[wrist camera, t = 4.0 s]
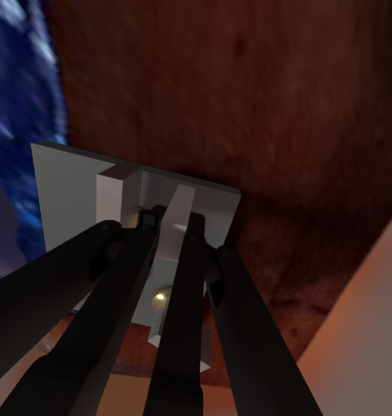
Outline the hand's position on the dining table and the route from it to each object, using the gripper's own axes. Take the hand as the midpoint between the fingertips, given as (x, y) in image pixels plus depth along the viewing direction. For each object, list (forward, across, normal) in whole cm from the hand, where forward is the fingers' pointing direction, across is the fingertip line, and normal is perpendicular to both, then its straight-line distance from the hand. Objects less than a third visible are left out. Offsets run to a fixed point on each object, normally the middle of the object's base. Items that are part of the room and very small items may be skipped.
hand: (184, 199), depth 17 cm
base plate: (+4, -5, -11) cm, 13 cm away
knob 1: (+2, -5, -3) cm, 6 cm away
